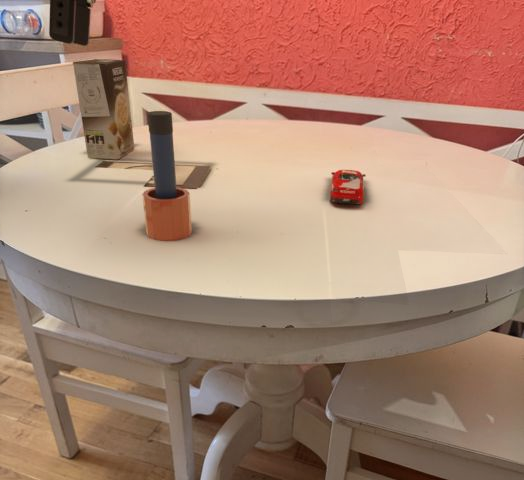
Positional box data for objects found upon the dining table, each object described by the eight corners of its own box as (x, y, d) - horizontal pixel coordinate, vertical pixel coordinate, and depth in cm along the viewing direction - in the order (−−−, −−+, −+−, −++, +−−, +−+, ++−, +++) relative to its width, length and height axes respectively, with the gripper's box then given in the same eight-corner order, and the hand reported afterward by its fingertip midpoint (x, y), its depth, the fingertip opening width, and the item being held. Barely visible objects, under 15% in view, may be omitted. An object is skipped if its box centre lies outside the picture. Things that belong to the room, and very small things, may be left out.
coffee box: (119, 160, 95) (106, 63, 86) (86, 158, 96) (71, 61, 86) (135, 149, 102) (125, 59, 93) (105, 147, 103) (93, 57, 94)
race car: (331, 183, 86) (333, 159, 84) (362, 185, 86) (366, 161, 83) (326, 207, 75) (328, 180, 73) (362, 210, 75) (366, 183, 72)
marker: (156, 235, 63) (144, 114, 55) (161, 228, 65) (150, 110, 57) (177, 236, 63) (168, 115, 55) (181, 229, 65) (174, 111, 57)
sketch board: (74, 185, 81) (73, 180, 80) (103, 164, 92) (102, 159, 92) (196, 192, 80) (196, 187, 79) (210, 169, 91) (210, 164, 91)
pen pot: (142, 243, 62) (137, 199, 59) (153, 227, 67) (149, 185, 64) (186, 245, 62) (183, 201, 59) (195, 229, 66) (193, 187, 63)
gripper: (53, -147, 51) (48, 36, 58) (11, -213, 38) (11, 29, 46) (129, -121, 52) (115, 53, 60) (111, -177, 40) (96, 51, 48)
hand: (70, 43), depth 53 cm, fingers open, 8 cm apart
